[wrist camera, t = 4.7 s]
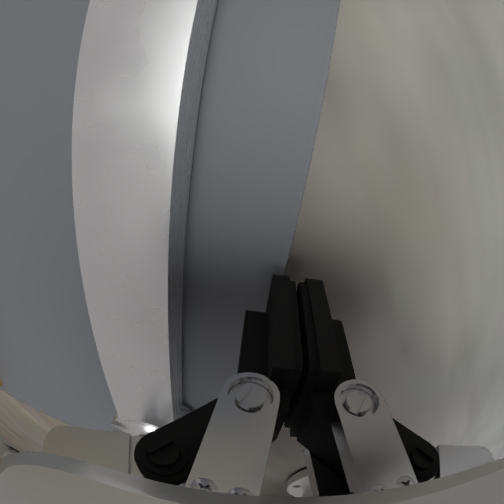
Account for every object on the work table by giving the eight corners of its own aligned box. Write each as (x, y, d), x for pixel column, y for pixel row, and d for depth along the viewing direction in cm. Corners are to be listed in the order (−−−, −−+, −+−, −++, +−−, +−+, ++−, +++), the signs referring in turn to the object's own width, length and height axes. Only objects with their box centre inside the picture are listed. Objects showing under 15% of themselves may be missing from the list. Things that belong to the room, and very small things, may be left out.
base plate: (341, -57, 6) (349, -74, 5) (230, 453, 21) (229, 468, 20) (-81, 40, 5) (-94, 43, 4) (-26, 359, 20) (-32, 368, 19)
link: (197, 439, 17) (184, 505, 12) (127, 422, 17) (106, 483, 12) (258, -45, 5) (246, -146, 1) (113, -38, 5) (23, -88, 1)
